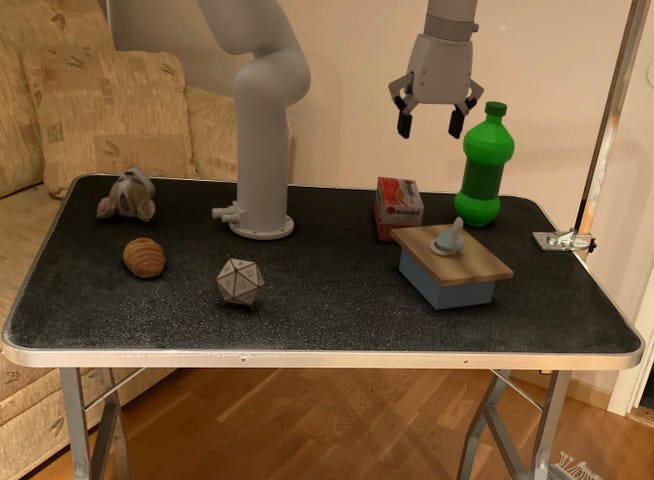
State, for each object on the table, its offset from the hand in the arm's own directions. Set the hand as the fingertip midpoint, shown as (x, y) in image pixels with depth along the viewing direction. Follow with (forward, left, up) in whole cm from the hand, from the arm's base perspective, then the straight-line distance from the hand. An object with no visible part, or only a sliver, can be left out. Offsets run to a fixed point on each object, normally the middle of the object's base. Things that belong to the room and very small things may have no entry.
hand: (428, 136), depth 127 cm
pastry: (-46, +9, -25) cm, 53 cm away
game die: (-34, -7, -25) cm, 43 cm away
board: (+3, -9, -19) cm, 21 cm away
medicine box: (+5, +16, -25) cm, 30 cm away
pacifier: (+2, -9, -18) cm, 20 cm away
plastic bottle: (+24, +16, -25) cm, 38 cm away
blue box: (+3, -9, -25) cm, 26 cm away
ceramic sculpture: (-45, +31, -25) cm, 60 cm away
